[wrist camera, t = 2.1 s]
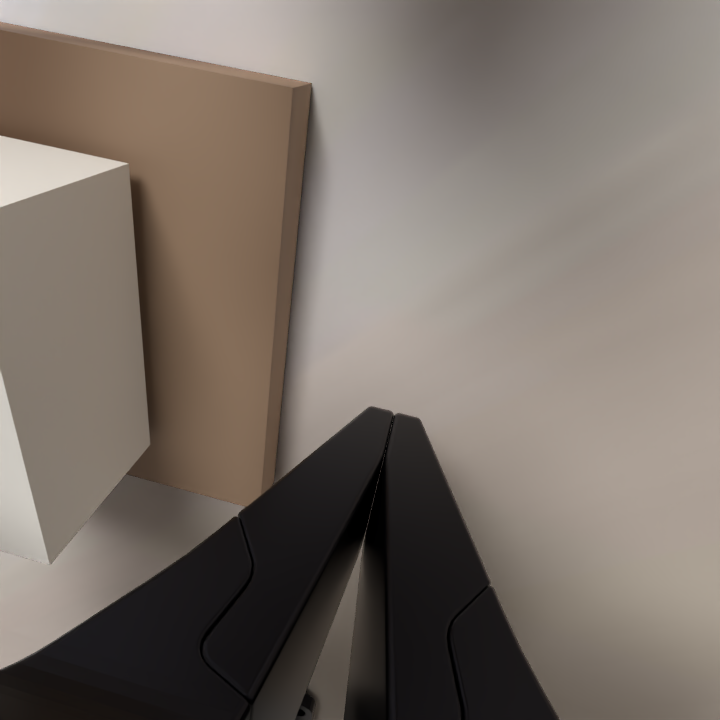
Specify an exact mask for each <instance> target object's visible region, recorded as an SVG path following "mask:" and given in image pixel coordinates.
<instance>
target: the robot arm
mask: <svg viewBox="0 0 720 720" xmlns="http://www.w3.org/2000/svg"><path fill="white" fill-rule="evenodd" d="M393 417H394V418H393ZM392 421H393V422H392ZM391 425H392V427H391ZM390 429H391V431H390ZM389 433H390V435H389ZM388 438H389V439H388ZM387 442H388V443H387ZM386 446H387V447H386ZM385 450H386V451H385ZM384 454H385V455H384ZM383 458H384V459H383ZM382 462H383V464H382ZM381 466H382V468H381ZM380 470H381V472H380ZM379 475H380V476H379ZM378 479H379V480H378ZM377 483H378V484H377ZM376 487H377V488H376ZM375 491H376V492H375ZM374 495H375V497H374ZM373 499H374V501H373ZM372 503H373V505H372ZM371 508H372V509H371ZM370 512H371V513H370ZM369 516H370V517H369ZM368 520H369V521H368ZM367 524H368V525H367ZM366 528H367V530H366ZM365 532H366V534H365ZM364 536H365V539H364ZM363 539H364V544H363V551H362V558H361V567H360V576H359V585H358V594H357V603H356V612H355V621H354V631H353V640H352V649H351V658H350V667H349V676H348V685H347V694H346V704H345V713H344V720H560V719H559V717H558V716H557V714H556V712H555V710H554V709H553V707H552V705H551V703H550V702H549V700H548V698H547V696H546V694H545V693H544V691H543V689H542V687H541V685H540V683H539V681H538V680H537V678H536V676H535V674H534V672H533V670H532V668H531V667H530V665H529V663H528V661H527V659H526V657H525V655H524V653H523V652H522V650H521V648H520V645H519V643H518V641H517V639H516V637H515V635H514V633H513V631H512V628H511V626H510V624H509V622H508V620H507V618H506V616H505V613H504V611H503V609H502V607H501V604H500V602H499V599H498V597H497V595H496V592H495V590H494V588H493V587H491V586H490V585H491V582H490V579H489V577H488V575H487V572H486V570H485V568H484V565H483V563H482V561H481V558H480V556H479V554H478V551H477V549H476V547H475V545H474V542H473V540H472V538H471V535H470V533H469V531H468V528H467V526H466V524H465V521H464V519H463V517H462V514H461V512H460V510H459V508H458V505H457V503H456V501H455V498H454V496H453V494H452V491H451V489H450V487H449V484H448V482H447V480H446V478H445V475H444V473H443V471H442V468H441V466H440V464H439V461H438V459H437V457H436V454H435V452H434V450H433V448H432V445H431V443H430V441H429V438H428V436H427V434H426V431H425V429H424V427H423V424H422V422H421V420H420V419H419V418H417V417H413V416H409V415H405V414H401V413H397V414H395V415H394V414H393V412H392V411H389V410H385V409H381V408H377V407H372V406H371V407H368V408H367V409H366V410H364V411H363V412H362V413H361V414H359V415H358V416H357V417H356V418H355V419H353V420H352V421H351V422H350V423H348V424H347V425H346V426H345V427H344V428H342V429H341V430H340V431H339V432H337V433H336V434H335V435H334V436H333V437H331V438H330V439H329V440H328V441H326V442H325V443H324V444H323V445H322V446H320V447H319V448H318V449H317V450H315V451H314V452H313V453H312V454H311V455H309V456H308V457H307V458H306V459H304V460H303V461H302V462H301V463H300V464H298V465H297V466H296V467H295V468H293V469H292V470H291V471H290V472H289V473H287V474H286V475H285V476H284V477H282V478H281V479H280V480H279V481H278V482H276V483H275V484H274V485H273V486H271V487H270V488H269V489H268V490H267V491H265V492H264V493H263V494H262V495H260V496H259V497H258V498H257V499H255V500H254V501H253V502H252V503H251V504H249V505H248V506H247V507H246V508H244V509H243V510H242V511H241V512H240V513H239V514H238V517H236V516H235V517H233V518H232V519H231V520H229V521H228V522H227V523H226V524H225V525H223V526H222V527H221V528H220V529H219V530H217V531H216V532H215V533H214V534H212V535H211V536H210V537H208V538H207V539H206V540H204V541H203V542H202V543H200V544H199V545H198V546H197V547H195V548H194V549H193V550H191V551H190V552H189V553H187V554H186V555H185V556H183V557H182V558H180V559H179V560H177V561H176V562H174V563H173V564H171V565H170V566H168V567H167V568H165V569H164V570H163V571H161V572H160V573H158V574H157V575H155V576H154V577H152V578H151V579H149V580H148V581H146V582H145V583H143V584H142V585H140V586H138V587H137V588H135V589H134V590H132V591H131V592H129V593H128V594H126V595H124V596H123V597H121V598H120V599H118V600H117V601H115V602H114V603H112V604H110V605H109V606H107V607H106V608H104V609H103V610H101V611H100V612H98V613H97V614H95V615H93V616H92V617H90V618H89V619H87V620H86V621H84V622H83V623H81V624H79V625H78V626H76V627H75V628H73V629H72V630H70V631H69V632H67V633H65V634H64V635H62V636H61V637H59V638H58V639H56V640H55V641H53V642H51V643H50V644H48V645H47V646H45V647H43V648H42V649H40V650H38V651H37V652H35V653H33V654H31V655H29V656H27V657H25V658H23V659H22V660H20V661H18V662H16V663H14V664H11V665H9V666H7V667H5V668H2V669H0V720H312V718H313V714H314V709H315V705H316V703H315V700H314V699H313V698H312V697H311V696H310V695H308V694H306V693H305V692H306V690H307V687H308V684H309V682H310V679H311V677H312V674H313V671H314V669H315V666H316V664H317V661H318V659H319V656H320V653H321V651H322V648H323V646H324V643H325V640H326V638H327V635H328V633H329V630H330V627H331V625H332V622H333V620H334V617H335V614H336V612H337V609H338V607H339V604H340V601H341V599H342V596H343V594H344V591H345V588H346V586H347V583H348V581H349V578H350V575H351V573H352V570H353V568H354V565H355V563H356V560H357V557H358V554H359V552H360V549H361V546H362V543H363Z"/></svg>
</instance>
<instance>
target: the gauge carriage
mask: <svg viewBox="0 0 720 720" xmlns="http://www.w3.org/2000/svg"><path fill="white" fill-rule="evenodd" d="M149 446H150V434H149V421H148V408H147V395H146V382H145V369H144V356H143V343H142V330H141V317H140V304H139V291H138V278H137V265H136V252H135V239H134V226H133V213H132V200H131V187H130V174H129V163H124V162H120V161H115V160H110V159H106V158H101V157H97V156H92V155H87V154H83V153H78V152H74V151H69V150H64V149H60V148H55V147H51V146H46V145H41V144H37V143H32V142H28V141H23V140H18V139H14V138H9V137H5V136H0V551H2V552H6V553H9V554H13V555H16V556H20V557H23V558H26V559H30V560H33V561H37V562H40V563H43V564H47V565H51V564H52V562H53V561H54V560H55V559H56V558H57V556H58V555H59V554H60V553H61V551H62V550H63V549H64V548H65V547H66V545H67V544H68V543H69V542H70V541H71V539H72V538H73V537H74V536H75V535H76V533H77V532H78V531H79V530H80V529H81V527H82V526H83V525H84V524H85V523H86V521H87V520H88V519H89V518H90V517H91V515H92V514H93V513H94V512H95V511H96V509H97V508H98V507H99V506H100V505H101V503H102V502H103V501H104V500H105V499H106V497H107V496H108V495H109V494H110V493H111V491H112V490H113V489H114V488H115V486H116V485H117V484H118V483H119V482H120V480H121V479H122V478H123V477H124V476H125V474H126V473H127V472H128V471H129V470H130V468H131V467H132V466H133V465H134V464H135V462H136V461H137V460H138V459H139V458H140V456H141V455H142V454H143V453H144V452H145V450H146V449H147V448H148V447H149Z"/></svg>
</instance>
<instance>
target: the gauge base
mask: <svg viewBox="0 0 720 720" xmlns="http://www.w3.org/2000/svg"><path fill="white" fill-rule="evenodd" d="M311 85H312V83H307V82H302V81H297V80H292V79H287V78H282V77H277V76H272V75H267V74H262V73H257V72H251V71H246V70H241V69H236V68H231V67H226V66H221V65H216V64H211V63H206V62H201V61H196V60H191V59H186V58H180V57H175V56H170V55H165V54H160V53H155V52H150V51H145V50H140V49H135V48H130V47H125V46H120V45H114V44H109V43H104V42H99V41H94V40H89V39H84V38H79V37H74V36H69V35H64V34H59V33H54V32H49V31H43V30H38V29H33V28H28V27H23V26H18V25H13V24H8V23H3V22H0V136H5V137H9V138H14V139H18V140H23V141H28V142H32V143H37V144H41V145H46V146H51V147H55V148H60V149H64V150H69V151H74V152H78V153H83V154H87V155H92V156H97V157H101V158H106V159H110V160H115V161H120V162H124V163H129V174H130V187H131V200H132V213H133V226H134V239H135V252H136V265H137V278H138V291H139V304H140V317H141V330H142V343H143V356H144V369H145V382H146V395H147V408H148V421H149V434H150V446H149V447H148V448H147V449H146V450H145V452H144V453H143V454H142V455H141V456H140V458H139V459H138V460H137V461H136V462H135V464H134V465H133V466H132V467H131V468H130V470H129V471H128V472H127V473H126V474H128V475H131V476H135V477H139V478H142V479H146V480H150V481H153V482H157V483H161V484H164V485H168V486H172V487H176V488H179V489H183V490H187V491H190V492H194V493H198V494H201V495H205V496H209V497H212V498H216V499H220V500H223V501H227V502H231V503H234V504H238V505H242V506H245V507H247V506H248V505H249V504H251V503H252V502H253V501H254V500H255V499H257V498H258V497H259V496H260V495H262V494H263V493H264V492H265V491H267V490H268V489H269V488H270V487H271V486H272V484H273V482H274V476H275V466H276V455H277V445H278V434H279V424H280V413H281V402H282V392H283V381H284V371H285V360H286V349H287V339H288V328H289V318H290V307H291V297H292V286H293V275H294V265H295V254H296V244H297V233H298V223H299V212H300V201H301V191H302V180H303V170H304V159H305V149H306V138H307V127H308V117H309V106H310V96H311Z"/></svg>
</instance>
